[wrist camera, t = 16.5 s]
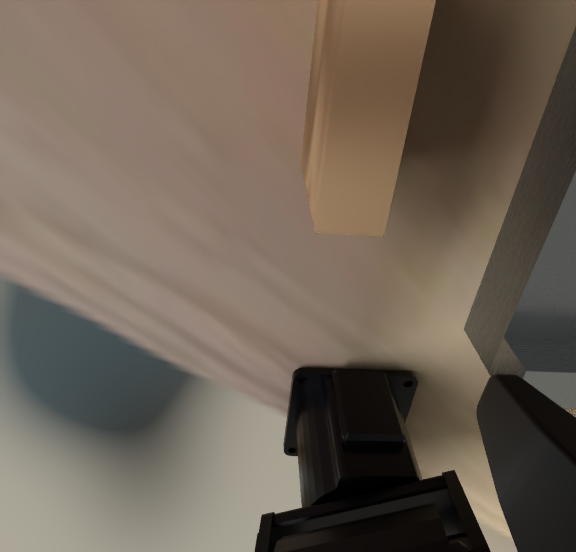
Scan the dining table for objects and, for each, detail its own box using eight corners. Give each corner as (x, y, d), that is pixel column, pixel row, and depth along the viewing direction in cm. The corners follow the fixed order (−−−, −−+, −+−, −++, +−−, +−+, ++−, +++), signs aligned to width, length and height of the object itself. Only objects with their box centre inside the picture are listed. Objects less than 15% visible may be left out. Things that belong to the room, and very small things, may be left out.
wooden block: (351, 165, 19) (383, 236, 14) (301, 161, 18) (315, 232, 13) (392, -90, 14) (462, -123, 9) (327, -97, 14) (362, -135, 9)
